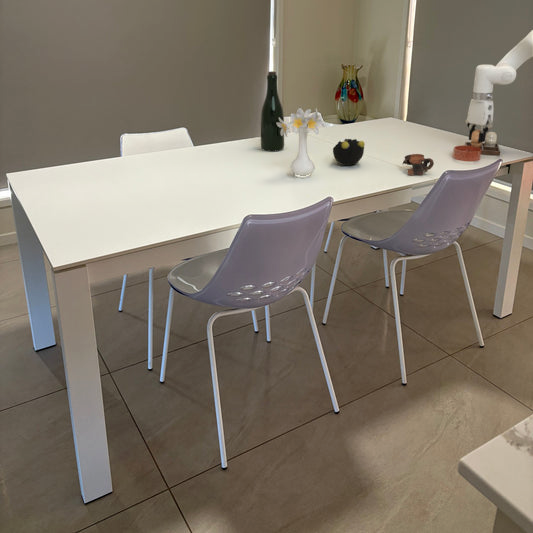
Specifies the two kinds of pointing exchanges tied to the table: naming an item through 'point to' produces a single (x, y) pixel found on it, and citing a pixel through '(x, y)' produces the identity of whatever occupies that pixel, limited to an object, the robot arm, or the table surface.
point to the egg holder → (488, 149)
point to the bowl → (467, 153)
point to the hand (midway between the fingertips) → (476, 140)
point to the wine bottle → (271, 117)
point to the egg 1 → (475, 138)
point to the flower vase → (302, 139)
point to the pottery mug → (418, 164)
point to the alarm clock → (348, 151)
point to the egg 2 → (490, 139)
